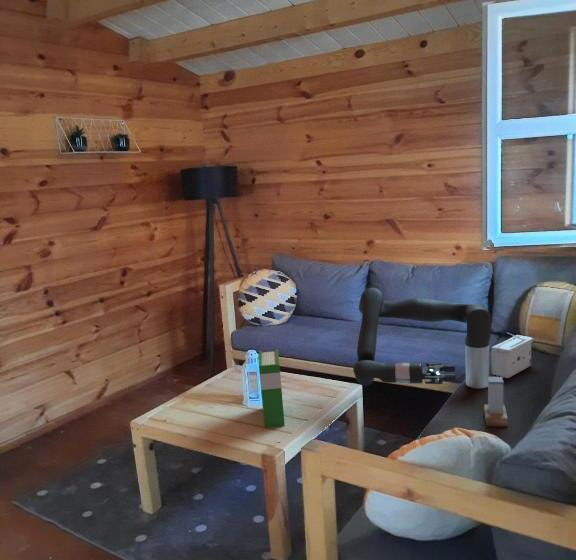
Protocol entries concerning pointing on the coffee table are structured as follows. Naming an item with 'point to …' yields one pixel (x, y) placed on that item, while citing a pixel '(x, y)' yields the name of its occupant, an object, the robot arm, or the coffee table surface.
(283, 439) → the coffee table surface
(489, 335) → the robot arm
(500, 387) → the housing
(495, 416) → the stand
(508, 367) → the stereo radio cassette player
